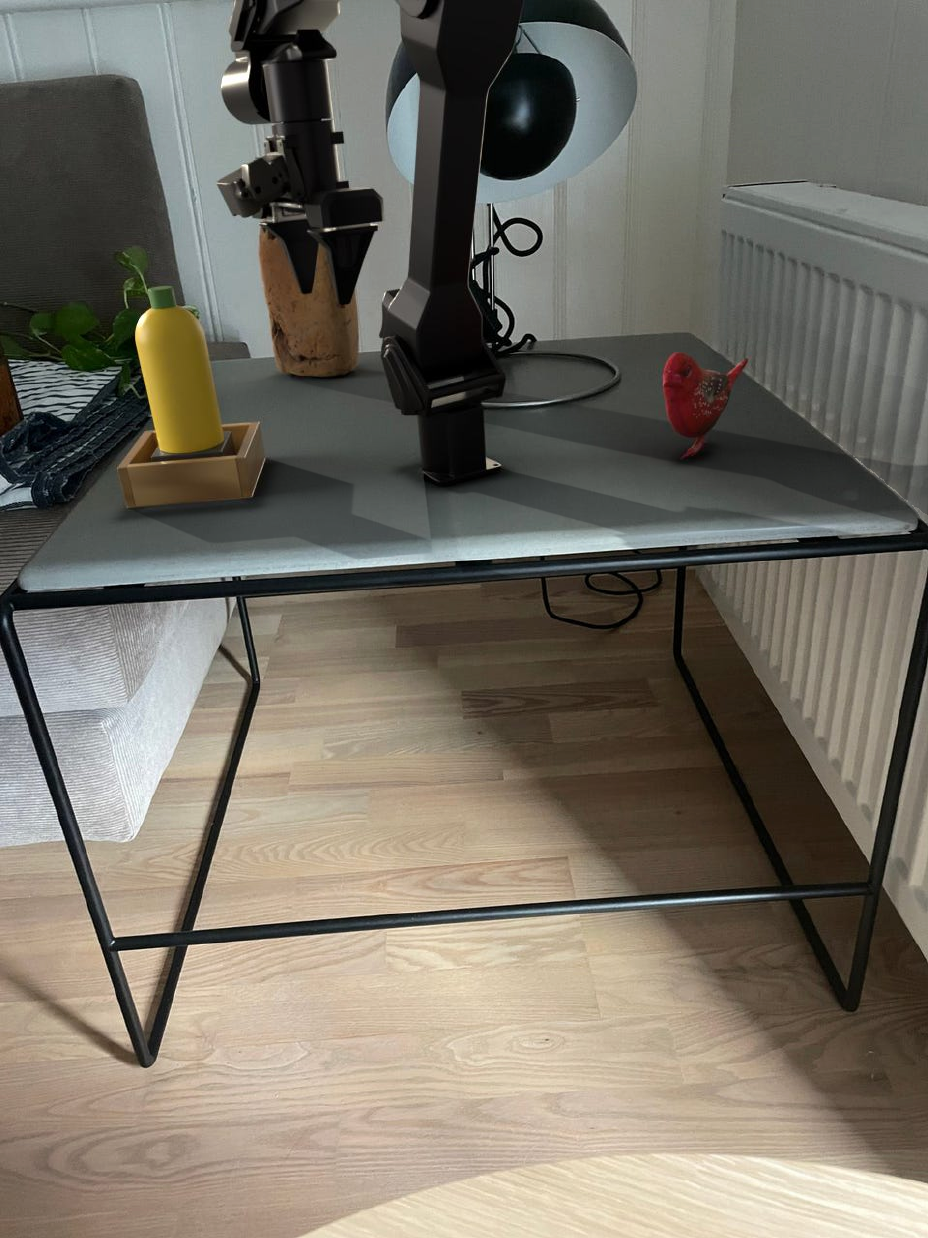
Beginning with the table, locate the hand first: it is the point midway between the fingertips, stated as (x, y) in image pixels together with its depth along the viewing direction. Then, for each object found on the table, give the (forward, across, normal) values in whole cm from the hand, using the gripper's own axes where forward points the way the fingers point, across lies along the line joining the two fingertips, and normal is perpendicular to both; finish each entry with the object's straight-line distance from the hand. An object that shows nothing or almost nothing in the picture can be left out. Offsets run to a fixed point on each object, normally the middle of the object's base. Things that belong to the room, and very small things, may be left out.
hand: (324, 298), depth 94 cm
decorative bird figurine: (+13, +30, +23) cm, 40 cm away
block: (+13, -24, +8) cm, 29 cm away
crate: (+13, +9, -18) cm, 24 cm away
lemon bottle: (+9, +9, -18) cm, 22 cm away
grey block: (+12, +9, -18) cm, 24 cm away
